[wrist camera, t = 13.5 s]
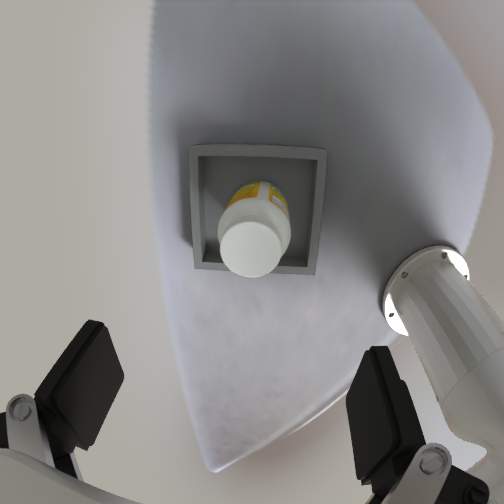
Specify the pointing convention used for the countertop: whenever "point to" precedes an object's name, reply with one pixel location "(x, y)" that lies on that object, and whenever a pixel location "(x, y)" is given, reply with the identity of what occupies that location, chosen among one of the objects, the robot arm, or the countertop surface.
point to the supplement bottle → (254, 229)
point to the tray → (248, 170)
